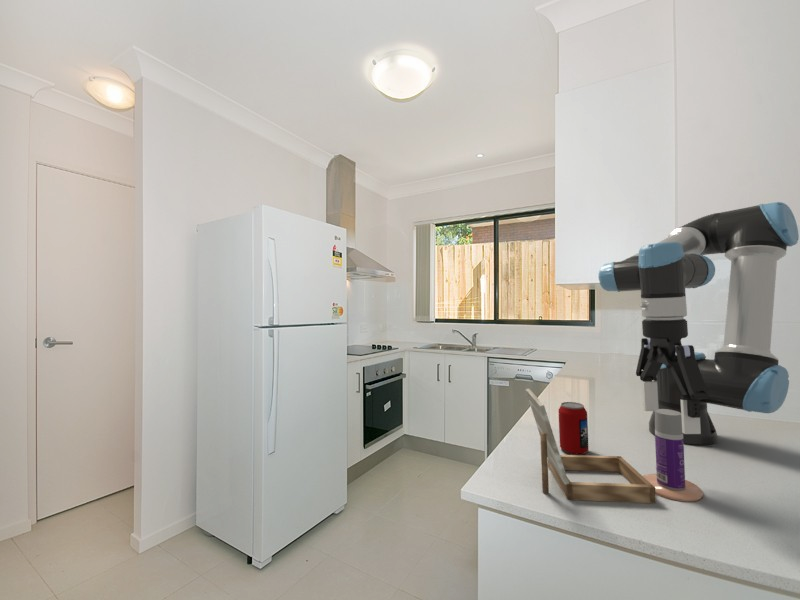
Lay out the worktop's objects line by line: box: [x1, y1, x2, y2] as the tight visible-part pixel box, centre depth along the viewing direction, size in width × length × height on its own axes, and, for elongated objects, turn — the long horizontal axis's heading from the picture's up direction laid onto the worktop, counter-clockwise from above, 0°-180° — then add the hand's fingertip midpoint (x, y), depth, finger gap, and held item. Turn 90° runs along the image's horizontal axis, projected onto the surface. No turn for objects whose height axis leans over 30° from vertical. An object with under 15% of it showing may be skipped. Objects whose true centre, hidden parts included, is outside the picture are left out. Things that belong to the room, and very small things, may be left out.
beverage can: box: [558, 401, 589, 455], centre depth 93 cm, size 7×7×12 cm
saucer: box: [642, 473, 704, 503], centre depth 73 cm, size 10×10×1 cm
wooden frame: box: [525, 388, 657, 504], centre depth 77 cm, size 20×14×19 cm
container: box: [654, 409, 686, 491], centre depth 74 cm, size 5×5×15 cm
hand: (669, 421), depth 74 cm, fingers open, 13 cm apart
